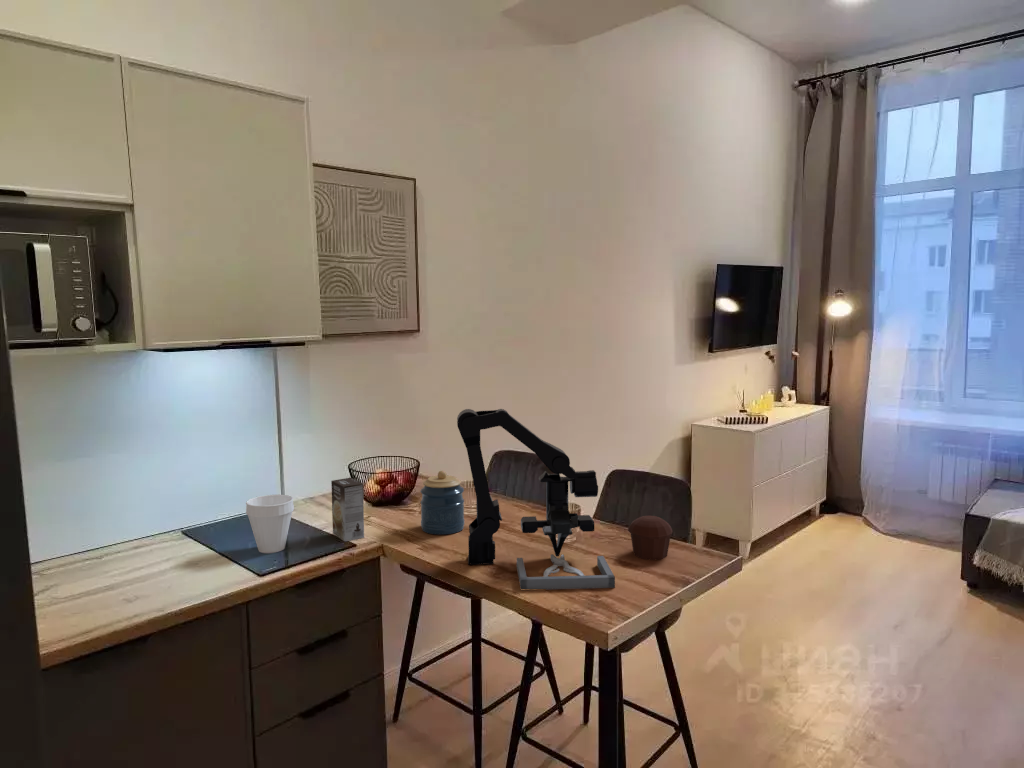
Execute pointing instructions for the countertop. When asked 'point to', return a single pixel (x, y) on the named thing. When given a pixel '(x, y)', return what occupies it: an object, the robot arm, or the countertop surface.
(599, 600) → the countertop surface
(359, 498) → the coffee box
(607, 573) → the tool holder
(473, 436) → the robot arm
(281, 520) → the white flower pot
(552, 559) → the pliers
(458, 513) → the canister
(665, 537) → the muffin
